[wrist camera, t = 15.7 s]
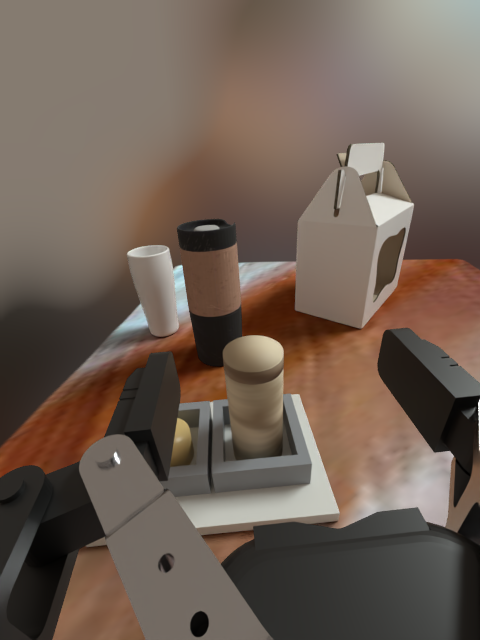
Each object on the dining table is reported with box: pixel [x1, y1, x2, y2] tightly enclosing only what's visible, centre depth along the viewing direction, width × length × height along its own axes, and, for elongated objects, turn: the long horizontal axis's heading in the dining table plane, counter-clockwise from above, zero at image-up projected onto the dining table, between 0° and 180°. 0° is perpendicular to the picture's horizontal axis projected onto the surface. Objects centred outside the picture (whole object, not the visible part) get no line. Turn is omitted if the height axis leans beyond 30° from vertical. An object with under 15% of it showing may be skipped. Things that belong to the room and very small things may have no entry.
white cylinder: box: [127, 245, 179, 337], centre depth 51 cm, size 7×7×15 cm
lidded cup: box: [223, 335, 284, 460], centre depth 27 cm, size 5×5×12 cm
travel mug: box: [177, 219, 242, 366], centre depth 43 cm, size 8×8×20 cm
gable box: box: [295, 143, 414, 329], centre depth 55 cm, size 22×13×28 cm, turn 141°
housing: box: [86, 394, 340, 547], centre depth 30 cm, size 21×14×4 cm, turn 94°
